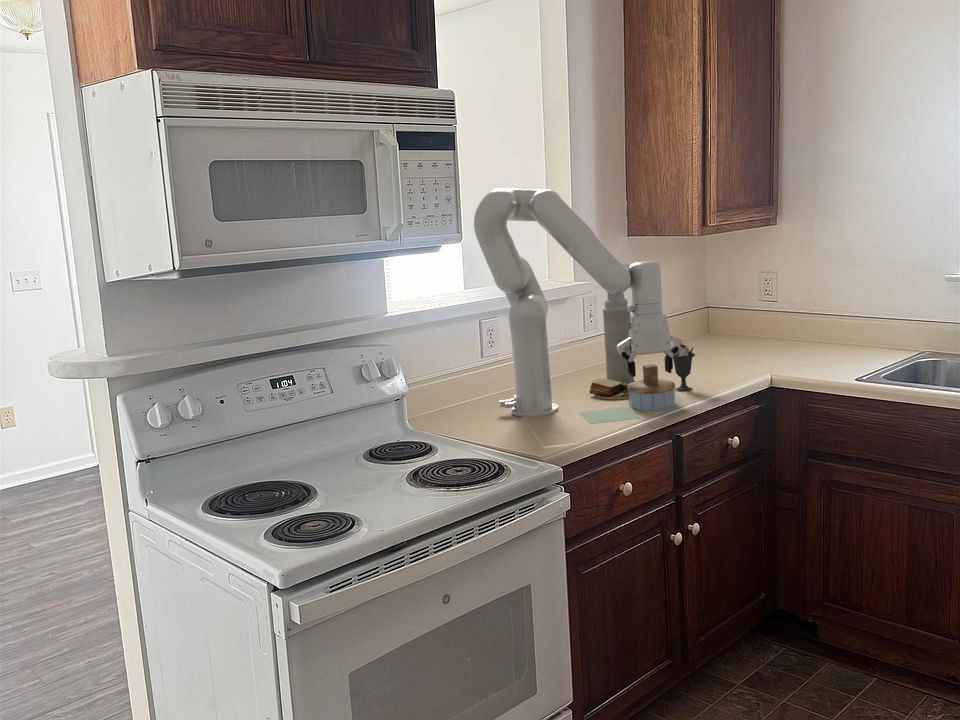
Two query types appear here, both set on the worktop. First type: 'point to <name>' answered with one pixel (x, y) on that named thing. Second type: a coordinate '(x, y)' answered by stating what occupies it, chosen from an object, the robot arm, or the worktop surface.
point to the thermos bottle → (616, 337)
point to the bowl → (652, 401)
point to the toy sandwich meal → (609, 389)
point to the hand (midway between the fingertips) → (650, 374)
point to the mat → (609, 415)
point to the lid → (650, 382)
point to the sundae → (683, 365)
